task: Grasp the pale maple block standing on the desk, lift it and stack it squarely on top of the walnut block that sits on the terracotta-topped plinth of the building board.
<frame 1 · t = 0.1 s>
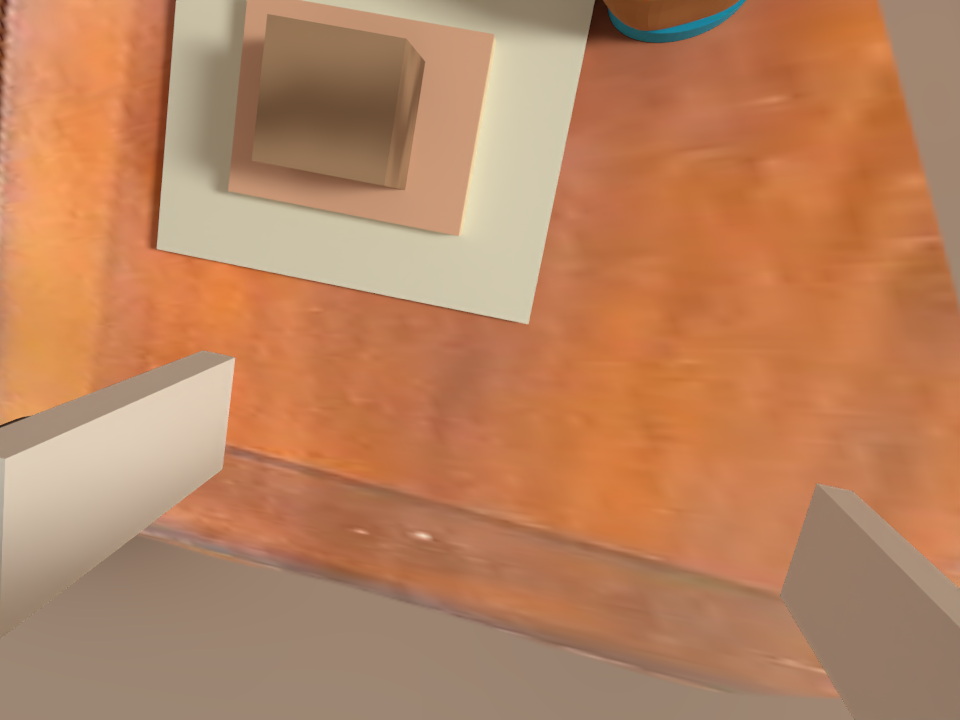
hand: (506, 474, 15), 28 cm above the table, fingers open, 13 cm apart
board: (367, 121, 41), on the table
walnut block: (355, 115, 38), point 2 cm above the table, touching board
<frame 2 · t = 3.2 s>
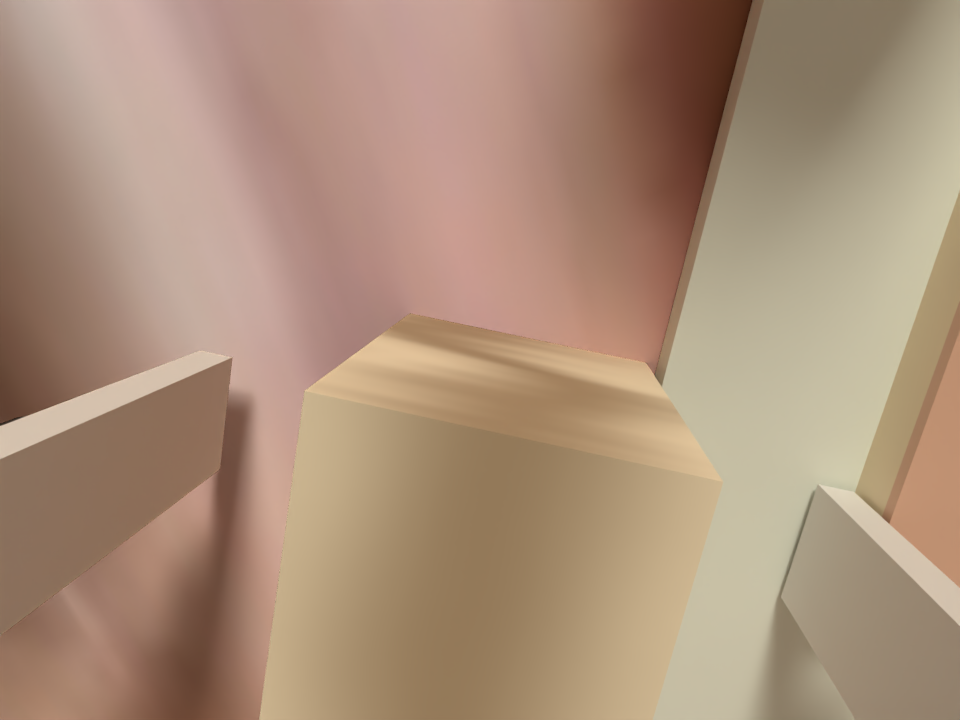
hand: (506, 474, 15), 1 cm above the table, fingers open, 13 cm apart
maple block: (503, 448, 16), on the table
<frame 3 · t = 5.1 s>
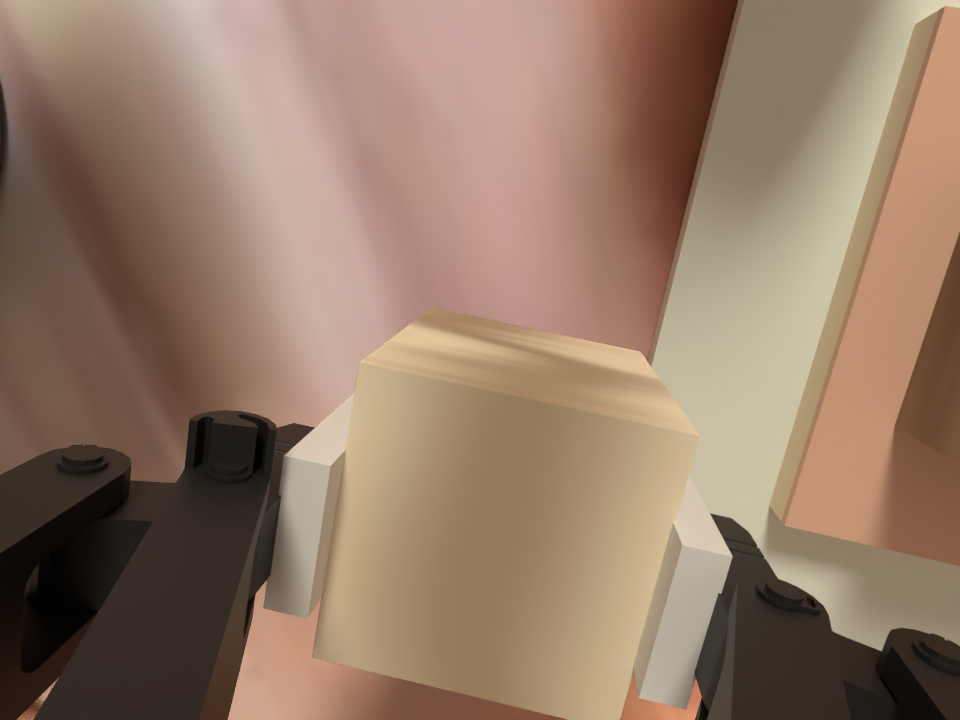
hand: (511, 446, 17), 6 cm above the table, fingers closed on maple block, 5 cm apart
maple block: (513, 428, 18), point 4 cm above the table, touching gripper
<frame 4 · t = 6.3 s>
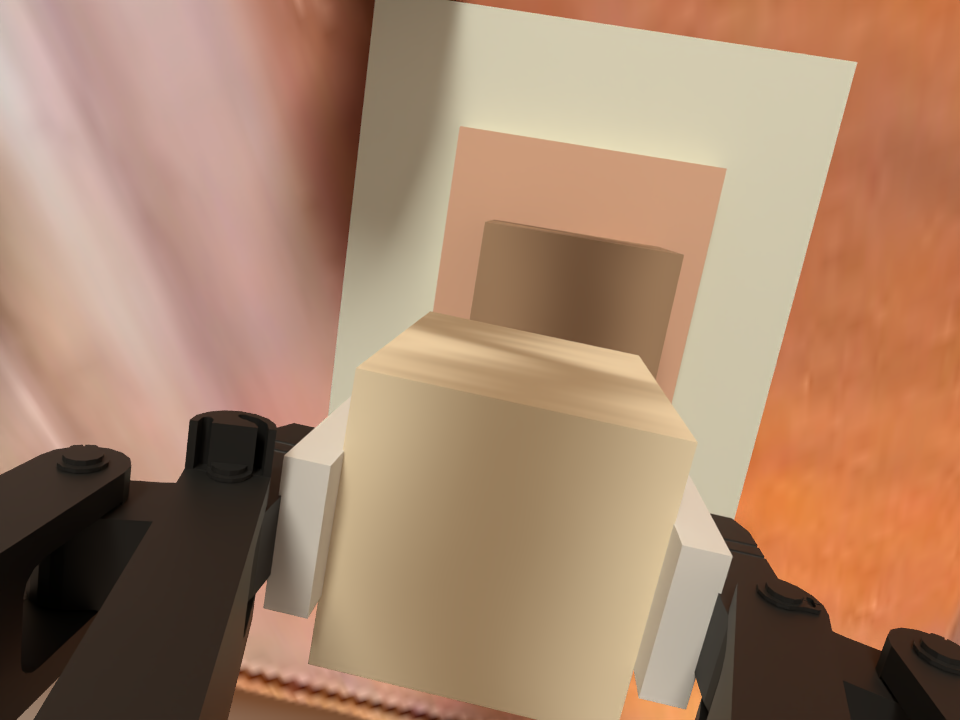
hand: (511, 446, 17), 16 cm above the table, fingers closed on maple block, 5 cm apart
board: (558, 306, 32), on the table
walnut block: (560, 314, 29), point 2 cm above the table, touching board
maple block: (511, 432, 18), point 14 cm above the table, touching gripper
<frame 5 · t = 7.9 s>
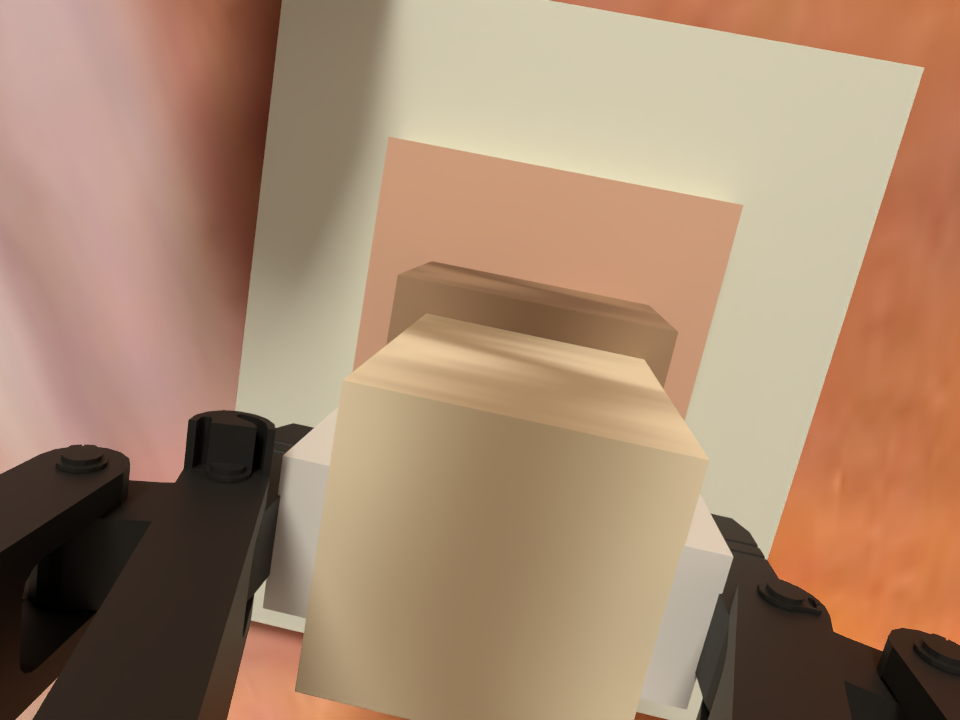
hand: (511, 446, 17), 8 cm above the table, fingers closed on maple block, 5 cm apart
board: (520, 370, 25), on the table
walnut block: (517, 387, 22), point 2 cm above the table, touching board, maple block
maple block: (511, 439, 17), point 7 cm above the table, touching gripper, walnut block
when the fingers open (8 cm above the table, at t = 8.4 s): maple block stays where it is, resting on walnut block.
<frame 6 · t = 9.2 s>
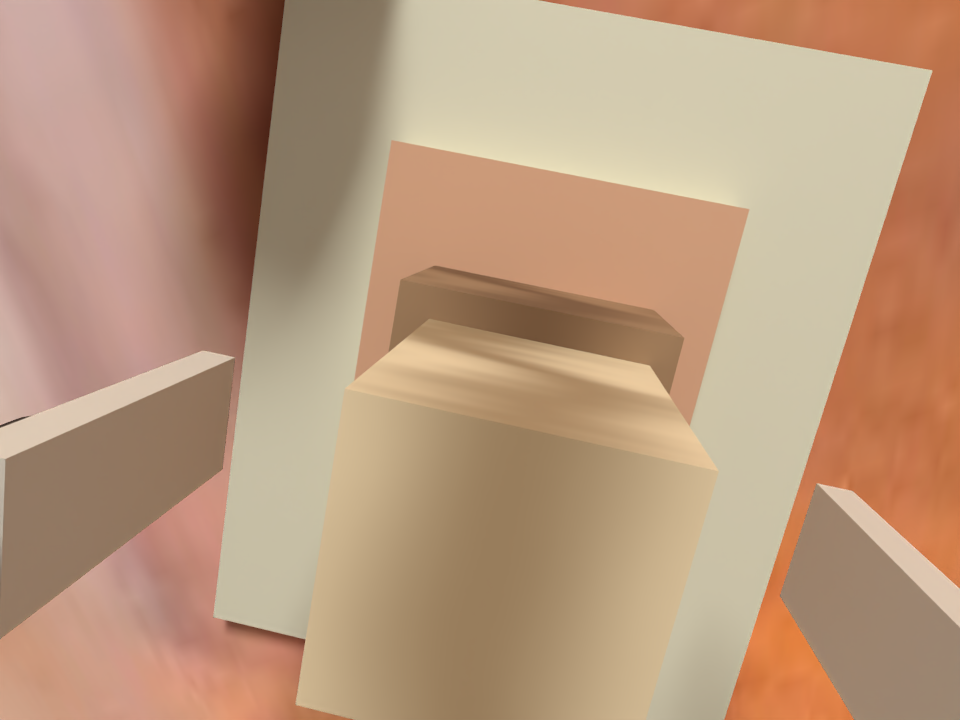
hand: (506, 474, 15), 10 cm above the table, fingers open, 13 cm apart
board: (523, 375, 24), on the table
walnut block: (520, 392, 22), point 2 cm above the table, touching board, maple block
maple block: (515, 446, 17), point 7 cm above the table, touching walnut block
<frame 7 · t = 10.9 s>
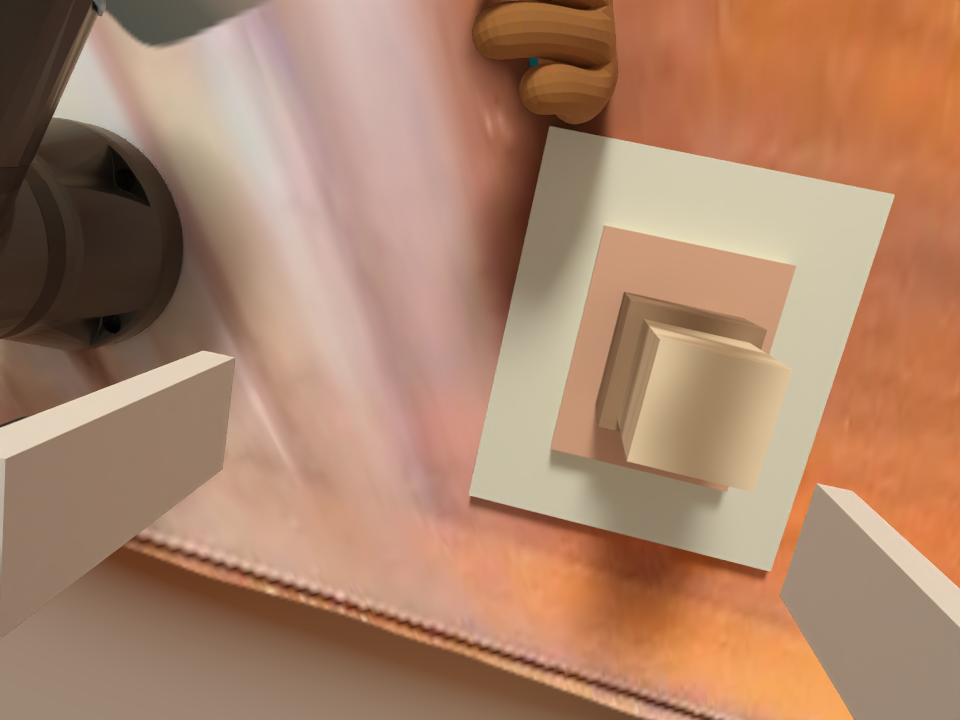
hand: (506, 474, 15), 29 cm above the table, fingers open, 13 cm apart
board: (662, 354, 43), on the table
toy: (550, 39, 40), on the table
walnut block: (667, 361, 40), point 2 cm above the table, touching board, maple block
maple block: (681, 381, 35), point 7 cm above the table, touching walnut block
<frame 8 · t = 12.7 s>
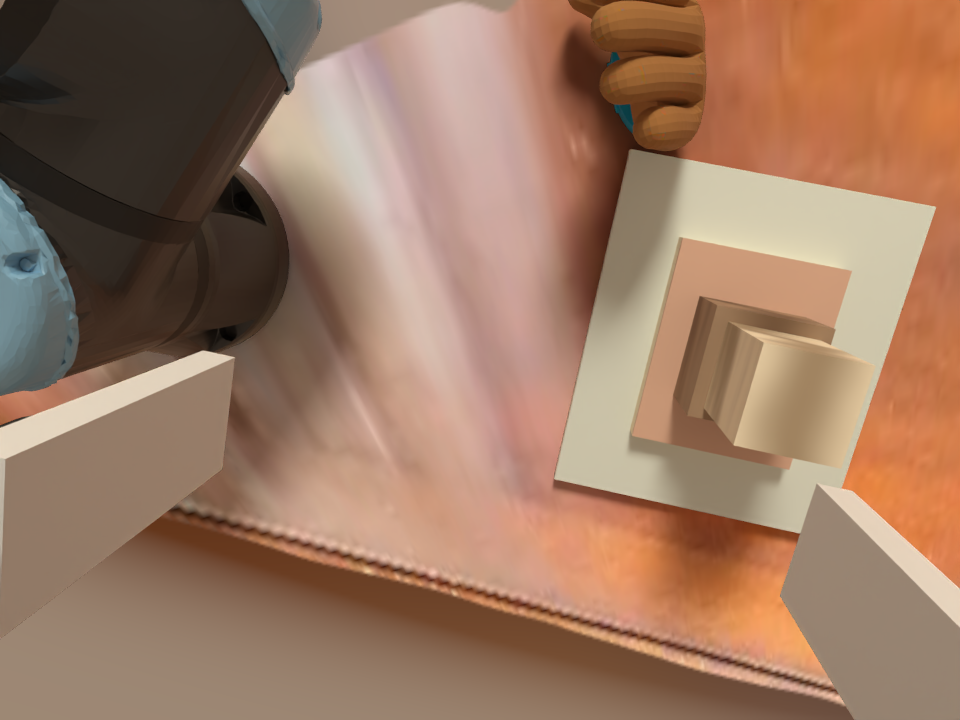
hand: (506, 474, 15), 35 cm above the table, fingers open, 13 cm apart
board: (728, 349, 48), on the table
toy: (629, 70, 45), on the table
walnut block: (737, 356, 46), point 2 cm above the table, touching board, maple block
maple block: (761, 374, 41), point 7 cm above the table, touching walnut block
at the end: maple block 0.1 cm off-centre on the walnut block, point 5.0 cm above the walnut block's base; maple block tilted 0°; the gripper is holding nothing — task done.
